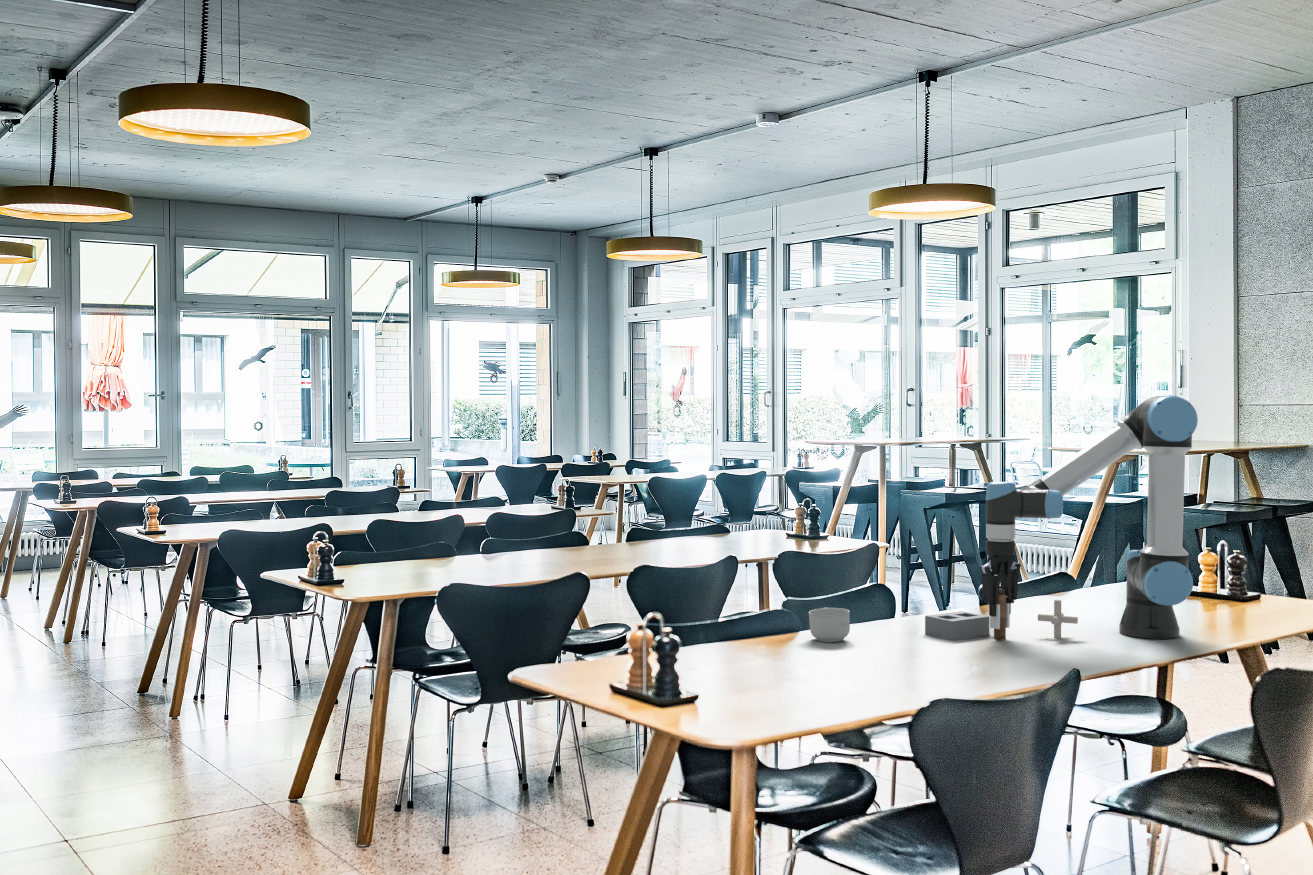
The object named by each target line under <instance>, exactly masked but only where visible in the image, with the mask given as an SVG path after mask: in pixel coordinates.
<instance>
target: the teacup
mask: <svg viewBox="0 0 1313 875" xmlns="http://www.w3.org/2000/svg"><path fill="white" fill-rule="evenodd" d="M808 616H809V617H808V620H809V631H810V634H811V635H812V637H813V638H815V639H816V641H818V642H821V643H822V642H823V643H838V642H841V641H843V640H844V639H846V637H847V636H848V635H849V633H850V629H851V627H850V626H851V625H850V624H851V622H850V619H851V618H850V609H846V608H843V607H841V608H839V607H827V606H826V607H821V608H814V609H811V610H809V611H808Z"/></svg>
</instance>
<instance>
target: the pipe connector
mask: <svg viewBox="0 0 1313 875" xmlns="http://www.w3.org/2000/svg"><path fill="white" fill-rule="evenodd" d="M1053 607H1054V608H1053V614H1043V613H1042V614H1041V613H1038V614H1037V621H1039V622H1050V623H1051V624H1052V625H1053V638H1055V639H1061V638H1062V624H1063V623H1064V624H1074V625H1077V624H1078V622H1079V620H1078V619H1079V618H1078V616H1070V615H1069V616H1068V615H1064V613H1063V612H1062V600H1061V599H1054V600H1053Z"/></svg>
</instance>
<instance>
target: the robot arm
mask: <svg viewBox="0 0 1313 875" xmlns="http://www.w3.org/2000/svg"><path fill="white" fill-rule="evenodd" d="M1198 419H1199V418H1198V413H1197V411H1196V408H1195V407H1194V405H1193V404H1191V402H1190V401H1189V400H1187V399H1185V398H1184V397H1183V398H1182V397H1180V396H1178V395H1170V394H1169V395H1161V396H1152V397H1150V398H1147V399H1146V400H1145V399H1144V401H1142V402H1141V403H1140V404H1138V405H1137V406H1136V407H1135V408H1133V409H1132V410H1131V411H1130V412H1129V413H1127V414H1126V415H1124V416H1123V417H1122V418H1120V419H1119V420H1118V421H1117V425H1116V426H1115V427H1114V428H1112V429H1111V430H1109V431H1108V432H1106V433H1105V434H1103V435H1101V437H1099V438H1098V439H1096V440H1095V441H1093V442H1092V443H1090V444H1088V445H1087V446H1086V447H1084V448H1082V449H1081V450H1080V451H1078V452H1077V453H1075V454H1074V455H1072V456H1071V457H1069V458H1067V459H1066V460H1065V461H1063V462H1062V463H1061V464H1059V465H1057V466H1055V467H1054V468H1053V469H1051V470H1050V471H1048V472H1047V473H1045V474H1044V475H1042V476H1041V477H1040V478H1039V479H1037V480H1035V481H1034V482H1032V483H1031V484H1029V485H1026V486H1023V487H1022V488H1021V487H1020V489H1017V487H1016V483H1015V482H1012V481H991V482H989V483H988V484H987V485H986V491H985V492H986V493H985V494H986V495H985V538H986V540H985V554H986V555H987V556H988V557H987V560H986V563H985V564H984V565H981V564H980V565H979V570H980V574H981V588H982V589H981V590H982V600H983V602H985V603H986V604H988V615H989V629H990V628H991V629H993V630H994V629H1000V604H998V597H999V589H1004V590H1005V594H1006V629H1009V628H1010V622H1011V620H1010V615H1011V613H1012V610H1011V606H1012V604H1014V603H1015V601H1016V600H1017V598H1018V586H1019V573H1020V568H1021V566H1022V565H1021V563H1018V562H1016V561H1014V557H1013V556H1014V555H1015V554H1016V542H1015V539H1016V519H1017V518H1018V519H1021V518H1022V519H1023V518H1025V519H1047V520H1049V519H1059V518H1061V517H1062V516H1063V512H1064V496H1065V495H1068V494H1069V493H1070V492H1071V491H1073V490H1074V489H1076V488H1077V487H1079V486H1081V485H1082V484H1084V483H1085V482H1087V481H1088V480H1089V479H1091V478H1093V477H1094V476H1095V475H1097V474H1099V473H1100V472H1101V471H1103V470H1105V469H1106V468H1107V467H1109V466H1110V465H1112V464H1114V463H1116V461H1118V460H1119V459H1121V458H1122V457H1124V456H1125V455H1127V454H1129V453H1130V452H1131V451H1133V450H1142V449H1144V450H1146V452H1147V453H1148V478H1147V479H1148V482H1147V483H1148V484H1147V485H1148V486H1147V487H1148V488H1147V519H1146V522H1147V523H1146V524H1147V526H1146V544H1145V546H1144V547H1142V549H1131V550H1128V552H1127V554H1126V560H1125V565H1126V605H1125V608H1124V610H1123V613H1122V616H1121V619H1120V623H1119V628H1118V629H1119V631H1118V632H1119V633H1120V634H1122V635H1124V636H1127V637H1128V636H1129V637H1134V638H1139V639H1141V638H1142V639H1153V640H1155V639H1157V640H1158V639H1159V640H1162V639H1163V640H1165V639H1166V640H1167V639H1175V638H1176V639H1177V638H1179V637H1180V626H1179V623H1178V619H1177V616H1176V613H1175V610H1174V607H1173V606H1176V605H1179V604H1181V603H1182V602H1184V601H1186V600H1187V598H1189V596H1190V595H1191V593H1192V590H1193V587H1194V580H1193V576H1192V572H1191V571H1190V570H1189V559H1190V558H1189V556H1190V555H1189V554H1190V553H1189V552H1188V551H1187V550H1186V549H1185V548H1184V547H1183V543H1184V540H1183V539H1184V538H1183V537H1184V507H1185V506H1184V505H1185V501H1184V499H1185V472H1186V471H1185V466H1186V465H1185V464H1186V463H1185V462H1186V455H1187V453H1188V452H1189V451H1191V449H1192V446H1193V445H1192V444H1193V443H1192V442H1193V434H1194V432H1195V431H1196V429H1197V426H1198Z"/></svg>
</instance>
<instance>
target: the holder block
mask: <svg viewBox="0 0 1313 875" xmlns="http://www.w3.org/2000/svg"><path fill="white" fill-rule="evenodd" d="M924 629H925V630H924V635H929V636H933V637H937V638H942V639H946V640H951V641H955V640H963V639H969V638H976V637H983V636H989V635H990V615H989V616H988V615H983V614H978V613H972V612H968V611H953V612H952V611H951V612H945V613H939V614H929V615H925V617H924Z"/></svg>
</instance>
